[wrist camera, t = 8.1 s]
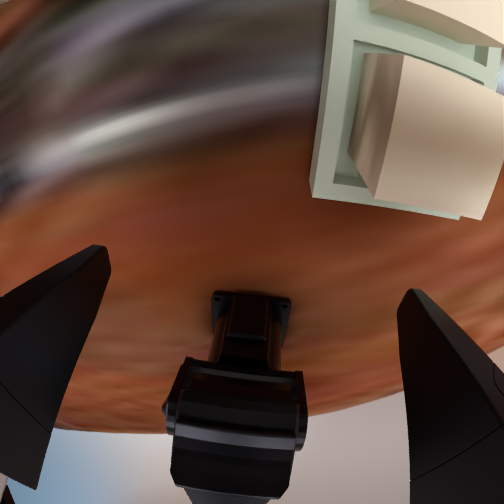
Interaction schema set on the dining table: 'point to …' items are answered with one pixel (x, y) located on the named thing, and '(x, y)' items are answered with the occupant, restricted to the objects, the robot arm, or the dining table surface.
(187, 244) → the dining table surface
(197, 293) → the dining table surface
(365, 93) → the maple cube
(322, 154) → the tray
